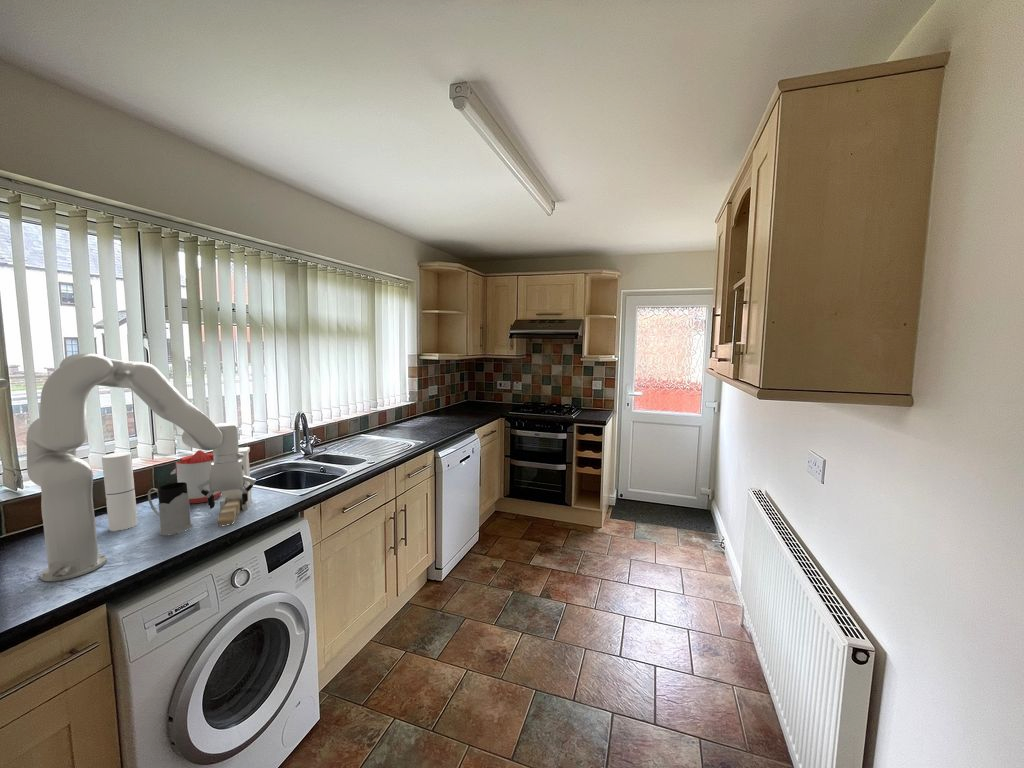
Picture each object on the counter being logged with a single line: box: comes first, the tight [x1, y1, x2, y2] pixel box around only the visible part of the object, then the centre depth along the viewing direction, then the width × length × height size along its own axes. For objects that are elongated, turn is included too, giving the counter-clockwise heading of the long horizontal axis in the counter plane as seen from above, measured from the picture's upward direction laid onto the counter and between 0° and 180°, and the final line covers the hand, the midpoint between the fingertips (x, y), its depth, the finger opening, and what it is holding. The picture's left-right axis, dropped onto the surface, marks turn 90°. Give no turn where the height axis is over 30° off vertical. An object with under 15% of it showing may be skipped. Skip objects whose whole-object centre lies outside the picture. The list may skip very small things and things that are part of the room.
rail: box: [217, 499, 243, 527], centre depth 149 cm, size 17×4×4 cm, turn 24°
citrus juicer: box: [170, 449, 222, 504], centre depth 166 cm, size 16×17×20 cm
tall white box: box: [219, 446, 253, 512], centre depth 157 cm, size 10×9×22 cm
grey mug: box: [147, 482, 194, 536], centre depth 139 cm, size 9×14×15 cm, turn 80°
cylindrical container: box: [101, 451, 138, 532], centre depth 140 cm, size 7×7×25 cm
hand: (228, 505), depth 148 cm, fingers open, 9 cm apart
